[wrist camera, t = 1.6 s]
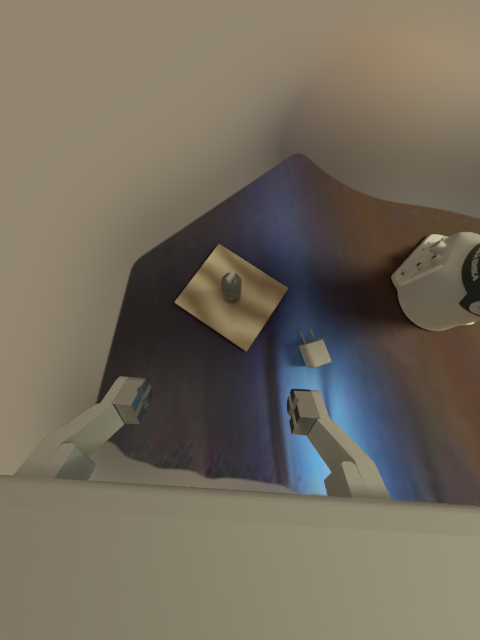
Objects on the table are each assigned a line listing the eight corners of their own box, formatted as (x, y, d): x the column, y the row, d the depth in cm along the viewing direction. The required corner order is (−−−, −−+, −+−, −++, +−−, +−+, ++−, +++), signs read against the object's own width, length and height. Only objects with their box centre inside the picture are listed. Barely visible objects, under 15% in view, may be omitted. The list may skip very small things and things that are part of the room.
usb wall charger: (304, 366, 38) (312, 368, 34) (293, 334, 39) (299, 332, 35) (322, 360, 38) (332, 361, 34) (310, 328, 39) (319, 325, 35)
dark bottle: (229, 283, 40) (227, 260, 29) (243, 293, 39) (246, 272, 29) (220, 297, 39) (214, 278, 29) (234, 306, 39) (233, 291, 29)
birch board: (219, 246, 42) (218, 243, 41) (287, 289, 41) (288, 288, 40) (175, 303, 40) (174, 302, 39) (246, 351, 38) (246, 351, 37)
